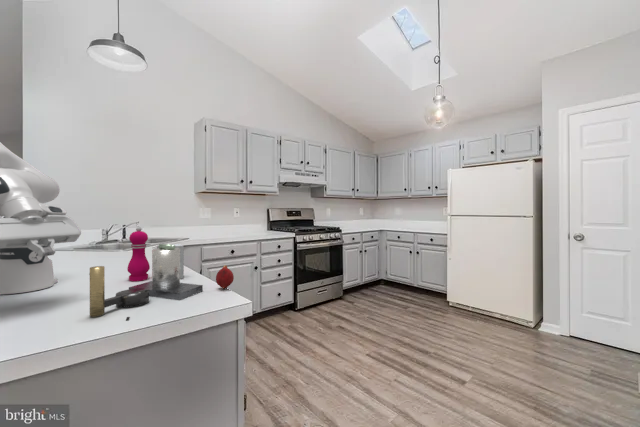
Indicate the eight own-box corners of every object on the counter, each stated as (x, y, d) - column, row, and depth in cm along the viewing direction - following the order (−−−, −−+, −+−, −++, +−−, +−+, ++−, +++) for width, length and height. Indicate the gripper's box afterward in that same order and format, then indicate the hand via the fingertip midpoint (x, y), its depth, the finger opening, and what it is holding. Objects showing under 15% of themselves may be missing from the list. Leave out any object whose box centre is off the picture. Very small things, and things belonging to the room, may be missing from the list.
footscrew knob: (79, 314, 74) (79, 267, 74) (134, 297, 89) (134, 257, 89) (102, 318, 72) (102, 269, 72) (155, 299, 87) (155, 259, 87)
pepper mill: (145, 276, 117) (145, 226, 117) (152, 279, 112) (152, 227, 112) (124, 279, 111) (124, 226, 111) (131, 283, 107) (131, 227, 106)
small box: (178, 275, 119) (178, 243, 119) (183, 278, 114) (184, 245, 114) (156, 278, 113) (156, 245, 113) (160, 282, 109) (160, 246, 108)
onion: (230, 291, 98) (230, 267, 98) (213, 291, 98) (213, 267, 98) (235, 286, 104) (235, 263, 103) (219, 286, 104) (219, 263, 103)
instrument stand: (68, 311, 77) (68, 252, 77) (154, 285, 103) (154, 241, 103) (127, 320, 71) (127, 256, 71) (202, 291, 97) (203, 244, 97)
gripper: (-25, 208, 70) (0, 251, 67) (70, 208, 90) (93, 242, 87) (-36, 226, 72) (-12, 269, 69) (60, 223, 91) (83, 256, 88)
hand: (48, 254), depth 78 cm, fingers closed
